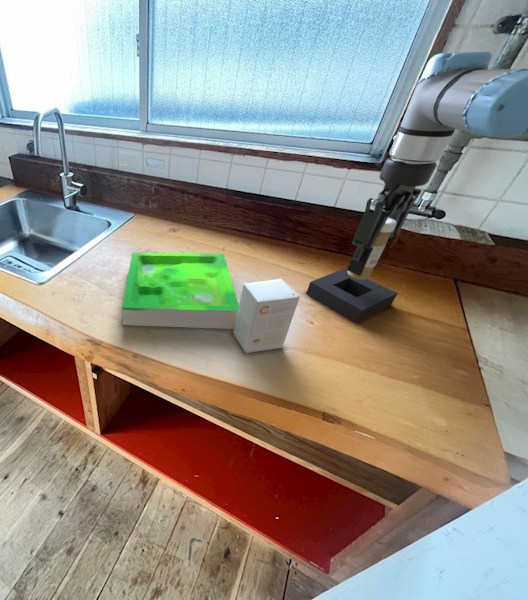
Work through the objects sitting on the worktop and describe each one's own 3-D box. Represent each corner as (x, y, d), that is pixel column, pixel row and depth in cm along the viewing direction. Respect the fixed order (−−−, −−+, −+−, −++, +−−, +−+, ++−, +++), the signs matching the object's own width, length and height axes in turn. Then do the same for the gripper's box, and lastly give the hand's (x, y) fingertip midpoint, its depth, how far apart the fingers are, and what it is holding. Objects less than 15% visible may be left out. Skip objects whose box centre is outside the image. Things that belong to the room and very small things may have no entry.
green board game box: (221, 269, 90) (223, 253, 87) (236, 329, 70) (240, 311, 67) (132, 268, 93) (132, 252, 90) (123, 325, 73) (122, 307, 70)
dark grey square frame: (391, 305, 75) (398, 293, 73) (355, 323, 70) (362, 310, 68) (339, 279, 84) (344, 267, 82) (305, 293, 80) (310, 281, 77)
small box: (267, 328, 70) (282, 277, 62) (283, 348, 65) (301, 296, 57) (232, 333, 69) (242, 282, 61) (245, 354, 64) (258, 302, 56)
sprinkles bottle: (361, 269, 75) (387, 214, 67) (374, 280, 71) (403, 223, 63) (342, 270, 75) (365, 215, 67) (353, 281, 71) (380, 224, 63)
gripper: (417, 148, 64) (368, 252, 78) (361, 162, 58) (319, 272, 72) (462, 156, 58) (401, 266, 72) (406, 171, 52) (351, 288, 66)
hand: (361, 269), depth 72 cm, fingers closed on sprinkles bottle, 4 cm apart
